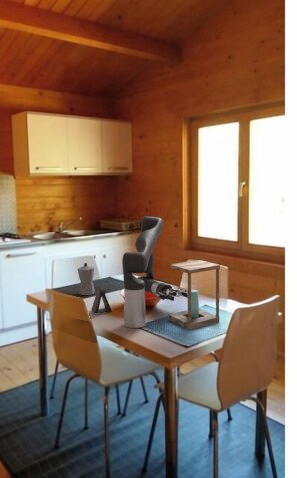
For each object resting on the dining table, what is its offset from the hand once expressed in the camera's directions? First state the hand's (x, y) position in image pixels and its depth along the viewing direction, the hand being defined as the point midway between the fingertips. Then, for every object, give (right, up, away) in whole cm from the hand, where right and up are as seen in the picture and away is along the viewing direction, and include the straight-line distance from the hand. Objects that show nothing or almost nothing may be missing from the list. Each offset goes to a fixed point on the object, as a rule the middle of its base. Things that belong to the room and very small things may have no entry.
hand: (180, 297), depth 207 cm
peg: (+5, -10, -7) cm, 13 cm away
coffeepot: (-51, -4, +43) cm, 66 cm away
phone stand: (-39, -9, +10) cm, 41 cm away
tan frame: (+5, -10, -7) cm, 13 cm away
